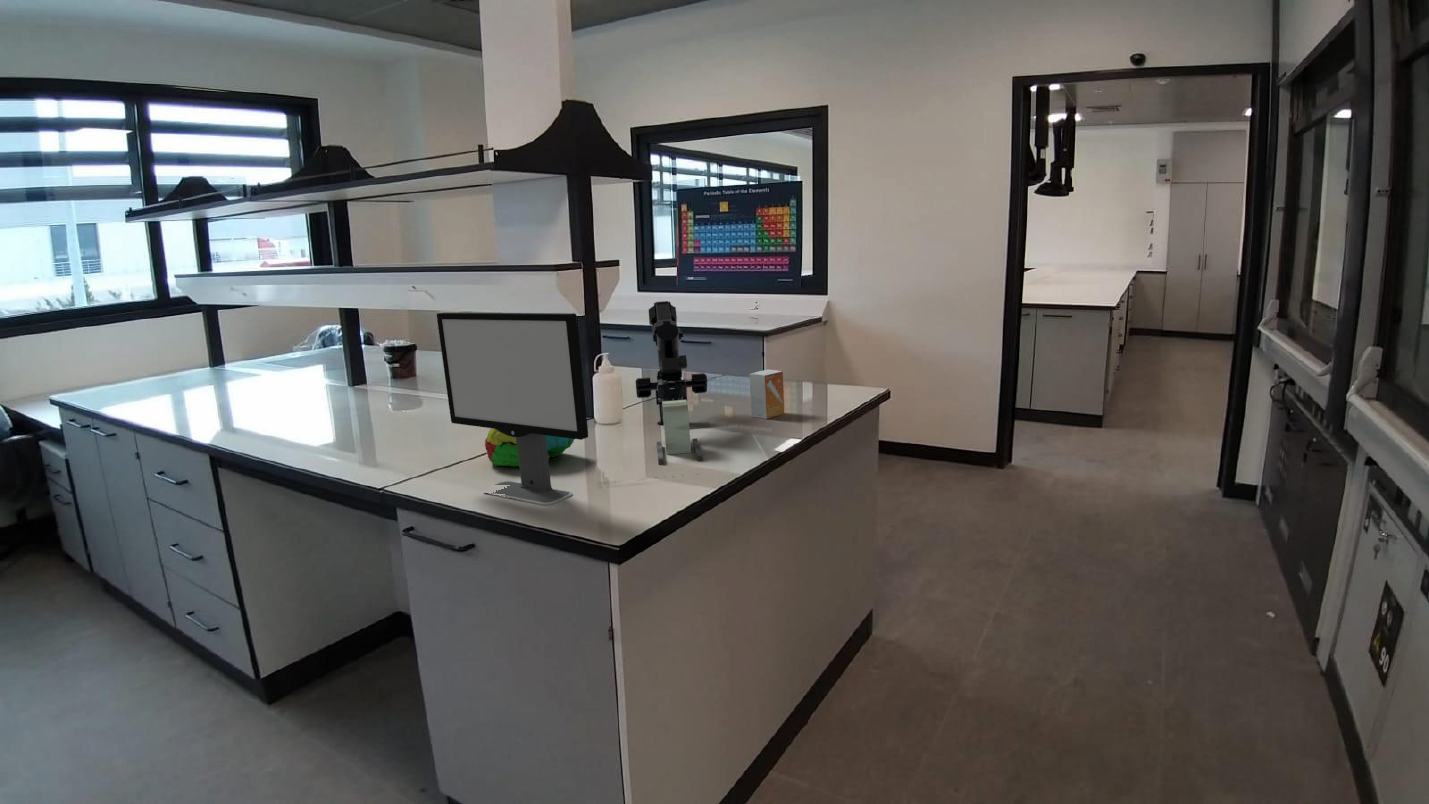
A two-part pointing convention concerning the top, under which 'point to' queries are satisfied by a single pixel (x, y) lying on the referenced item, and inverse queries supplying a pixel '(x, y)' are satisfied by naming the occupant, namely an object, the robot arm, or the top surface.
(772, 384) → the small box
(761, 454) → the top surface
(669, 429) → the sage block
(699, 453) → the walnut chute
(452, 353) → the computer monitor
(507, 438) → the brain model
